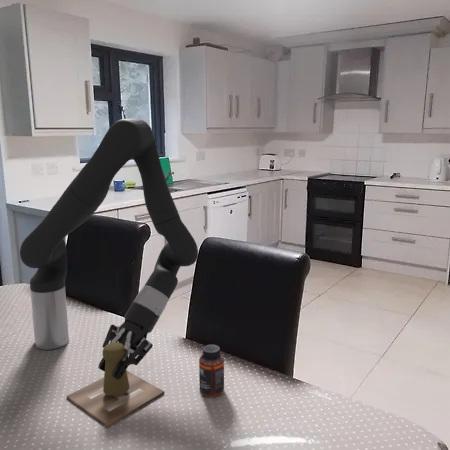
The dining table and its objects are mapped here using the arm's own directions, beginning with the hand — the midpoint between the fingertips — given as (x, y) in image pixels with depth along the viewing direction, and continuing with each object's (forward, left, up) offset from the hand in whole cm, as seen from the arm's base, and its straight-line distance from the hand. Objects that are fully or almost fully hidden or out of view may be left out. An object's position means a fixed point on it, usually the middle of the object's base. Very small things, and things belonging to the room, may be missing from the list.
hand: (108, 373), depth 100 cm
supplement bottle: (+16, +18, -7) cm, 25 cm away
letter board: (0, +2, -7) cm, 7 cm away
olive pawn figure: (0, +2, -5) cm, 5 cm away
